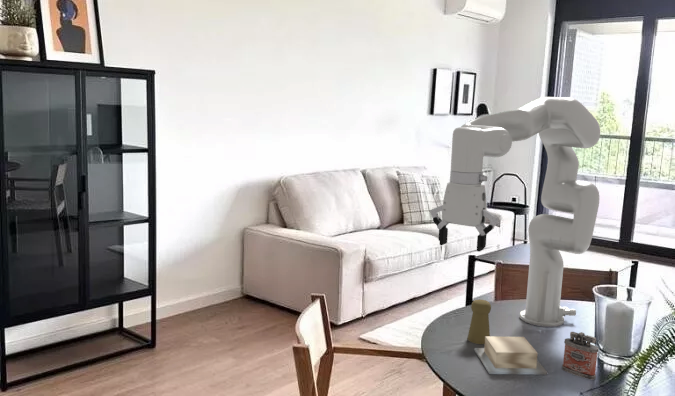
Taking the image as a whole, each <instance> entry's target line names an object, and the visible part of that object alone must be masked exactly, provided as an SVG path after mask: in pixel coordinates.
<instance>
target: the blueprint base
mask: <svg viewBox="0 0 675 396" xmlns="http://www.w3.org/2000/svg"><path fill="white" fill-rule="evenodd" d="M473 350H474V352H475V354H476V356H477V358H478V359H479V360H480V361H481V363H482V364H483V367H484V368H485V369H486V371H487V373H488V375H546V376H547V375H548V370H546V369H545V368H544V366H543V365H542V364H541V362H540V361H539V360H538V351H537V350H536V349H535V348H534V347H533V345H532V344H531V343H530V342H529V341H528V340H527V339H526V337H525V336H493V335H490V336H485V344H484V347H474V349H473Z"/></svg>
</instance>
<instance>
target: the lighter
mask: <svg viewBox="0 0 675 396" xmlns="http://www.w3.org/2000/svg"><path fill="white" fill-rule="evenodd" d="M596 343H597V337H595V336H592V335H588V334H585V333H584V332H583V331H582V332H575V331H570V335H569V338H568V337H567V338H564V352H563V362H562V365H561V370H562V371H564V372H566V373H568V374H572V375H573V376H576V377H578V378H579V377H580V378H583V379H586V380H592V381H593V380H596V378H597V376H596V370H597V369H596V368H597V361H598V359H597V358H598V353H599V346H596V345H595V344H596Z"/></svg>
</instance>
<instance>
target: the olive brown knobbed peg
mask: <svg viewBox="0 0 675 396" xmlns="http://www.w3.org/2000/svg"><path fill="white" fill-rule="evenodd" d="M470 308H471V312H472V315H471V319H470V324H469V325H470V326H469V328H468V335H467V338H466V339H467V341H469V342H470V343H473V344H477V345H485V336H491V335H490V334H491V332H490V330H491V329H490V315H489V314H490V312H491V310H492V305H491V302H490V301H488V300H486V299H475V300H473V301H472V303H471V306H470Z"/></svg>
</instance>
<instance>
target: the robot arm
mask: <svg viewBox="0 0 675 396" xmlns="http://www.w3.org/2000/svg"><path fill="white" fill-rule="evenodd" d="M535 135H538V136H539V139H540V140H541V142H542V144H543V147H544V148H545V152H546V156H547V165H546V167H547V168H546V171H545V176H544V181H543V185H542V189H541V190H542V191H541V197H540V201H541V202H540V203H541V205H542V206H543V208H546V209H548V210H550V211H555V212H560V213H565V214H571V215H573V218H570V217H565V216H560V215H555V214H549V213H547V214H546V213H544V214H543V213H541V214H538V215H536V216H534V217H532V219H531V220H530V222H529V224H528V233H527V234H528V241H529V262H528V263H529V264H528V278H527V289H526V298H525V300H526V301H525V309H524V310H521V311H520V312H519V318H520V320H522V321H523V322H524V323H527V324H530V325H533V326H536V327H537V326H539V327H543V328H544V327H547V328H554V327H556V328H557V327H559V326H562V325H563V324H564V323H565V317H566V316H575V317H576V316H577V315H576V314H577V311H576V309H575V308H568V306H561V297H562V289H563V288H562V285H563V277H564V276H563V274H564V260H563V256H562V253H561V252H565V253H569V254H570V253H571V254H575V255H582V254H584V253H585V252H587V251H588V249H589V247H590V245H591V242H592V239H593V234H594V230H595V225H596V220H597V217H598V211H599V206H600V192H599V189H598V187H597V186H596V185H595V184H594V183H591V182H589V181H582V180H577V178H578V177H577V176H578V172H579V166H580V165H579V164H580V162H579V158H578V156H577V154H576V152H575V150H574V149H573V148H577V149H591V148H593V147H595V146H596V144H597V143H598V142H599V140H600V138H601V126H600V124H599V121H598V119H596V118H595V116H594V115H593V114H592V113H591V111H589V110H588V108H587V107H586V106H585V105H584V104H583V103H581V102H580V101H579V100H577V99H575V98H573V97H565V96H564V97H558V96H542V97H537V98H535V99H533V100H530V101H529V102H526V103H524V104H523V105H520V106H518V107H516V108H514V109H511V110H506V111H505V110H504V111H502V112H498V113H493V114H489V115H484V116H480V117H477V118H474V119H472V120H470V121H467V122H465V123H464V124H462V125H461V126H460V127H456V128H454V130H453V133H452V142H451V160H450V171H449V172H450V173H449V176H450V177H449V182H447V183H446V186H445V190H444V196H443V201H442V204H441V205H439V206H437V207H435V208H432V209H430V210H429V212H430V213H429V214H430V215H431V217H432V218H431V219H432V221H433V223H434V224H435V226H436V227H437V229H438V241H439V246H443V245H445V244H448V235H449V233H448V232H449V229H448V227H447V226H448V225H449V224H453V225H457V226H464V227H465V226H466V227H472V228H473V227H475V229H476V230H477V232H478V233H479V234H478V235H477V238H476V240H477V241H476V252H479V253H480V252H482V251H483V250H485V248H486V246H487V245H486V244H487V234H489V233H490V232H491V231H493V230H494V229H495V227H496V225H497V224H498V222H499V220H500V219H499V217H497V216H496V215H495V214H493V213H491V212H490V211H488V210H487V208H488V207H487V194H486V193H487V191H486V186H485V185H484V184H482V183H483V182H487V181H488V176H487V175H484V172H483V165H484V157H487V158H500V157H504V156H505V155H507V153H508V152H509V151H510V150H511V149H512V146H513V145H512V144H513V143H515V142H521V141H525V140H528V139H530V138H531V137H534V136H535ZM440 212H441V217H440V216H439V213H440ZM487 220H489V221H490V222H489V224H488V225H487V226H486V225H485V223H486V222H487ZM560 251H561V252H560Z"/></svg>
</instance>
